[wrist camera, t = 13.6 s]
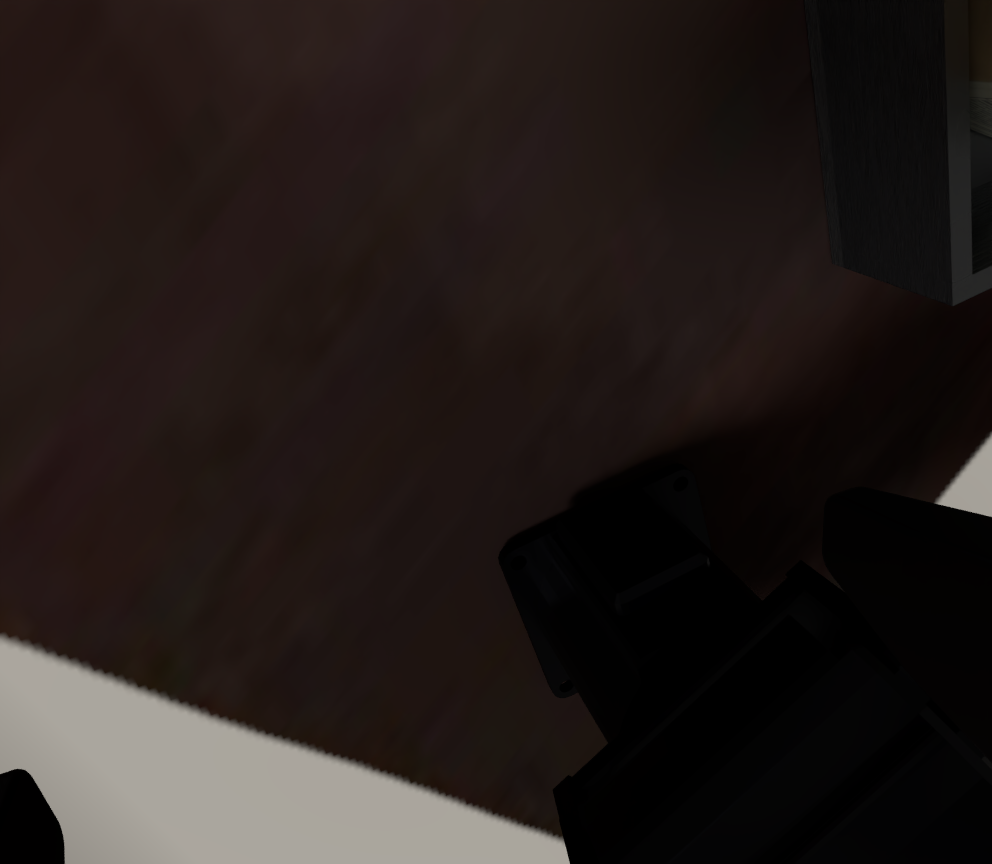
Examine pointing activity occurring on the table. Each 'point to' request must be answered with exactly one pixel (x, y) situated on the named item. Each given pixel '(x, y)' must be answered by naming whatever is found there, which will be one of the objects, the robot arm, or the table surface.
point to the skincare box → (980, 65)
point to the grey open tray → (902, 144)
